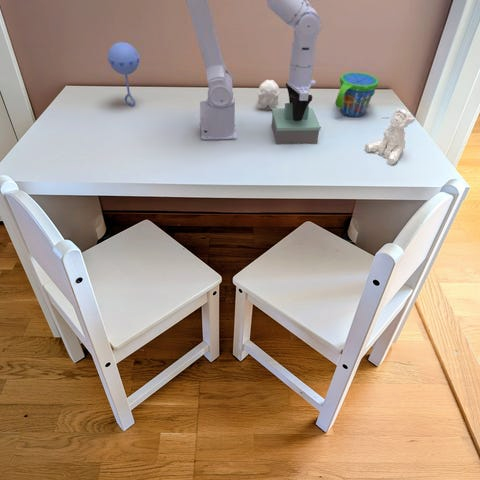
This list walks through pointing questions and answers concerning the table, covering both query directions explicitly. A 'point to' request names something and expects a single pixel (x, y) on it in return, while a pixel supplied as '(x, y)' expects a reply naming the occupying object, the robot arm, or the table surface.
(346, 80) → the snack cup
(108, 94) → the table surface
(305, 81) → the robot arm
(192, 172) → the table surface
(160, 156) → the table surface
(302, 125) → the lid
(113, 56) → the baby rattle
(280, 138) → the storage box
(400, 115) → the sitting furry creature
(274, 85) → the white lumpy piece
